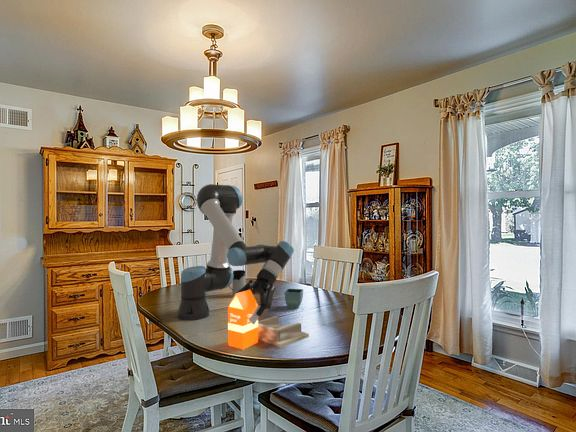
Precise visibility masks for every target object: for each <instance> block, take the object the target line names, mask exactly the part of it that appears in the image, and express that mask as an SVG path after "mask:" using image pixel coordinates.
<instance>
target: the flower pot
mask: <svg viewBox="0 0 576 432" xmlns="http://www.w3.org/2000/svg"><path fill="white" fill-rule="evenodd" d="M303 295H304V289H300V288H287V289H286V290H285V291H284V300H285V301H284V302H285V304H286V306H287V308H288V309H295V310H296V309H299V308H300V306H301V305H302V304H301V303H302V301H303Z"/></svg>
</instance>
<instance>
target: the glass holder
mask: <svg viewBox="0 0 576 432" xmlns="http://www.w3.org/2000/svg"><path fill="white" fill-rule="evenodd" d="M232 272H233V281H232V287H231V285H230V286H229V287H228V288H230V289H231V291H232V294H231V297H232V298H234V297H233V296H234V295H235V294H236V293H237V292H238V291H239V290H240V289H242V288H243V287H244V286H245V285H246V284H247V283H246V282H247V281H246V270H243V269H236V270H233V271H232Z"/></svg>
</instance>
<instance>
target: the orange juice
mask: <svg viewBox="0 0 576 432" xmlns="http://www.w3.org/2000/svg"><path fill="white" fill-rule="evenodd" d="M257 306H258V302H257V301H256V298H255V296H254V294H252V292H251V290H247V291H243V292H239V293H236V294H235V296H234V297H232V299H231V302H230V303H229V305H228V307H227V312H228V314H227V346H229V347H233V348H237V349H240V350H245V349H247V348H249V347H251V346H253V345H255V344H258V343H259V339H258V321H259V318H258V319H257V321H256V322H255V324H254V325H253V324H252V323H251V322H250V321H249V319H250V317H251V316H252V314H253V313H254V311H255V310H256V308H257Z"/></svg>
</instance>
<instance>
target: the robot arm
mask: <svg viewBox="0 0 576 432" xmlns="http://www.w3.org/2000/svg"><path fill="white" fill-rule="evenodd" d="M196 204H197V207H198V209H199V211H200V212H201V214H202V215H205V216H206V218H207V219H208V221H209V223H210V224H211V225H212V226H211V227H213V233H212V234H213V235H212V243H211V252H210V260H208V262H207V263H206V267H205V266H203V265H197V266H194V265H193V266H191V267H187V268H184V269H183V270H182V271H181V273H180V303H179V306H178V309H177V312H176V313H177V314H176V316H177V318H178V319H179V320H186V321H188V320H189V321H193V320H194V321H195V320H201V319H204V318H207V317H208V316H210V309H209V305H208V302H207V300H206V299H207V297H206V294H207V292H212V291H219V290H223V289H227V288H230V287H231V286H232V284H233V271H234V270H233V269H232V267H231V266H233V267H242V266H247V265H255V264H262V263H263V265H262V268H261V269H260V270H259V272H258V273H257V274H256V280H255V281H253V280H252V279H250V280H249V281H248V282H247V283H246V285H245V286H244V287H243V288H242V289H240V290H239V291H238V292H237V293H239V292H243V291H247V290H251V292H252V294H253V295H259V296H260V297H259V301H260V303H259V305H258V306H257V308H256V310H255V311H254V313H253V314H252V316H251V317H250V319H249V321H250V322H251V323H252V324H253V325H254V324H255V322H256V321H257V319H258V320H259V318H260V317H261V316H262V314H263V312H264V311H265V310H267V309H268V310H269V309H271V308H272V303H273V298H274V294H275V290H276V286H274V284H275V283H276V281H277V279H278V278H279V276H280V274H281V272H282V271H283V270H284V268H285V267H286V266H287V263H288V262H289V261H290V259H291V258H292V256H293V255H294V251H295V249H294V246H292V244H290V243H289V242H288V241H285V240H281V241H280V242H278V243H277V244H276V245H268V244H267V245H266V244H256V245H253V246H247V244H246V243H245V242H244V241H243V239H242V238H241V236H240V234H239V232H238V231H237V230H236V228H235V227H234V225H233V217H234V216H235V215H236V214H237V210H238V209H240V208H241V207H242V205H243V195H242V192H241V190H240V189H239V188H238V187H237V186H234V185H230V184H229V185H228V184H213V183H210V184H206V185H204V186H202V187H201V188H200V189H199V191H198V193H197V195H196ZM229 286H230V287H229ZM234 296H235V295H234ZM234 296H233V297H232V298H234ZM226 314H227V315H228V311H227V312H226Z"/></svg>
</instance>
